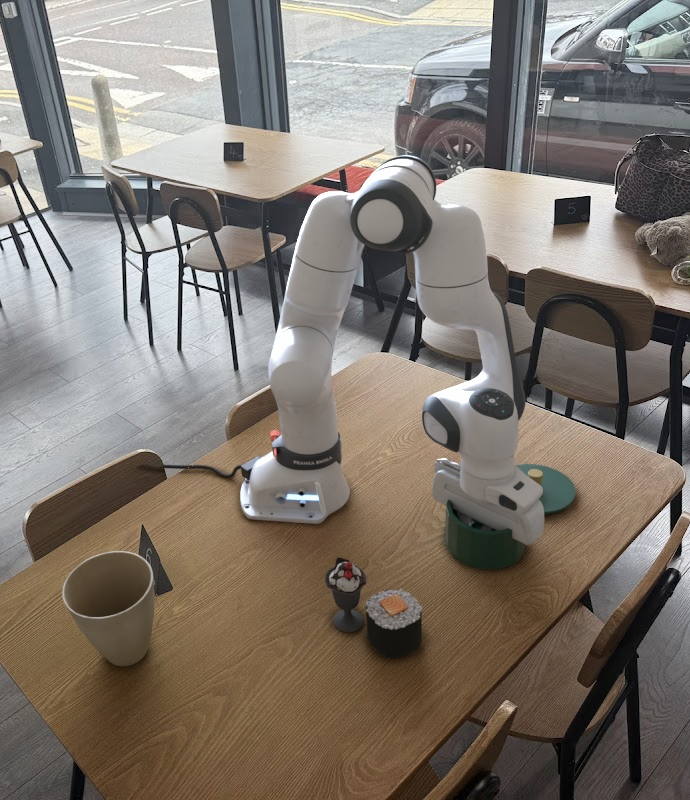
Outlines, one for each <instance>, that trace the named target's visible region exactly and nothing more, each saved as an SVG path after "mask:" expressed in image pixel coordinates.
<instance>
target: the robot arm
mask: <svg viewBox="0 0 690 800" xmlns="http://www.w3.org/2000/svg"><path fill="white" fill-rule="evenodd" d="M436 194H437V180H436V176H435V173H434V171H433V170H432V168H431V166H430V165H429V164H428V163H427V162H426V161H424V159H422V158H420V157H417V156H414V155H409V154H408V155H405V154H404V155H398V156H394V157H391V158H389V159H387V160H386V161H384V162H383V163H382V164H380V165H379V166H378V167H377V168H376V169H375V170H374V171H373V172H372V173H371V174H370V175H369V176H368V177H367V178H366V180H364V181H363V182H362V183H361V185H360V186H359V190H358V191H355V192H353V193H349V192H345V191H338V190H333V191H327V192H323V193H321V194H319V195H318V196H316V198H314V199H313V201H312V202H311V204H310V206H309V208H308V210H307V213H306V215H305V217H304V220H303V223H302V225H301V227H300V230H299V234H298V237H297V241H296V244H295V248H294V251H293V252H294V253H293V257H292V262H291V266H290V271H289V275H288V279H287V283H286V288H285V293H284V298H283V303H282V307H281V311H280V316H279V321H278V325H277V329H276V334H275V337H274V341H273V346H272V350H271V354H270V357H269V361H268V365H267V366H268V367H267V368H268V369H267V371H268V381H269V386H270V390H271V392H272V394H273V396H274V399H275V402H276V407H277V410H278V418H279V427H280V431H279V430H277V429H272V430H271V431H270V433H269V436H270V438H269V440H270V442H272V444H271V448H272V450H271V451H270V452H268V453H266V454H265V455H263V456H262V457H260V456H256V457H254V458H252V459H250V460H249V461H247V462H245V463H242V464H238V465H236V466H235V467H233V470H232V472H231V473H224V472H221V470H219V469H217V468H215V467H213V466H211V465H203V464H163V463H162V464H163V467H164V468H163V469H172V470H173V469H175V470H207V471H211V472H213V473H215V474H216V475H218V476H219V477H221V478H224V479H231V478H234V477H235V475H237V472H238V471H239V470H240V471H241V476H242V477H243V479H244V480H243V482H242V484H241V487H240V492H239V493H240V495H239V503H240V508H241V511H242V513H243V515H244V516H245V518H247V519H249V520H255V521H268V522H269V521H270V522H282V523H283V522H286V523H295V524H296V523H297V524H298V523H299V524H312V525H317V524H318V525H319V524H321V523H323V522H324V521H325V520H326V519H327V518H328V516H330V515H331V514H332V513H335V512H336V511H338V510H340V509H341V508H342V507H344V506H345V504H346V503H347V502H348V500H349V498H350V494H351V489H350V486H349V484H348V481H347V480H346V479H347V478H346V476H345V473H344V470H343V465H342V460H343V444H342V439H341V435H340V432H339V425H338V412H337V410H338V409H337V401H336V398H335V394H334V388H333V379H332V378H333V377H332V376H333V375H332V372H333V371H332V369H333V356H334V350H335V345H336V339H337V336H338V332H339V329H340V326H341V323H342V319H343V318H344V314H345V312H346V309H347V307H348V304H349V301H350V298H351V294H352V290H353V287H354V283H355V280H356V277H357V276H356V275H357V272H358V269H359V265H360V261H361V257H362V255H363V251H364V248H365V246H366V247H368V248H370V249H374V250H378V251H385V252H386V251H387V252H394V253H399V254H402V255H409V254H413V259H414V274H415V294H416V300H417V304H418V306H419V309H420V310H421V312H422V313H423V315H424V316H425V317H426V318H428V320H430V321H431V322H433V323H434V324H437V325H439V326H441V327H445V328H448V329H452V330H460V331H474V332H475V333H476V337H477V341H478V346H479V353H480V357H481V364H482V369H481V371H480V373H479V374H478V375H477V376H476V377H474V378H473V379H470V380H467V381H465V382H462V383H459V384H457V385H454V386H450V387H447V388H445V389H443V390H439V391H437V392H434V393H433V394H431V395H428V396H427V397H426V399H425V401H424V403H423V405H422V411H421V421H422V422H421V423H422V427H423V430H424V433H425V434H426V435H427V437H428V438H429V439H430V440H431V441H433V442H434V443H436V444H437V445H440V446H441V447H443V448H445V449H447V450H449V451H451V452H453V453H459V455H460V463H457V462H454V461H452V460H451V459H448V458H445V457H443V458H437V459H436V460H435V461H434V473H435V474H434V475H433V480H432V485H431V496H432V498H433V499H434V501H436V502H437V503H439V504H442V505H443V506H446V503H447V501H448V500H450V501H452V509H454V510H456V511H457V515H458V516H459V518H460V520H461V522H462V523H464V524H466V525H468V526H470V527H472V528H475V521H473V520H471V518H472V519H474V520H476V521H478V522H481V523H483V524H485V525H487V526H489V527H491V528H493V529H495V530H504V529H507V528H509V529H511V530H513V531H512V538H513V539H516V540H518V541H520V542H522V543H524V544H526V545H525V546H532V545H534V544H535V543H537V541H538V540H540V539H541V537H542V536H543V534H544V530H545V514H544V508H543V505H542V503H541V501H540V500H539V499H540V497H541V496H542V494H543V488H542V487H541V486H540V485H539V484H538V483H536V482H535V481H533V480H532V479H531V478H529V477H528V476H527V475H526V474H524V473H523V472H522V471H521V470H520V469H519V468H518V467H517V466H516V465H517V463H516V458H515V454H516V452H517V450H518V444H519V433H520V430H519V427H520V424H519V421H520V420H521V418H522V417H523V414H524V412H525V408H526V403H527V401H526V400H527V399H526V393H525V390H524V387H523V384H522V382H521V378H520V376H519V371H518V367H517V360H516V354H515V353H516V352H515V347H514V342H513V333H512V328H511V323H510V319H509V314H508V310H507V308H506V304H505V302H504V300H503V299H502V297H501V296H500V295H499V294H498V293H497V292H495V291H492V289H491V287H490V283H489V275H488V273H489V272H488V269H489V268H488V254H487V246H486V238H485V235H484V229H483V225H482V220H481V218H480V216H479V215H478V214H477V212H476V211H474V210H473V209H471V208H470V207H467V206H465V205H460V204H447V205H445V204H442V203H440V202H438V201H437V200H435V198H436V196H437V195H436ZM192 465H193V466H192ZM161 467H162V466H161ZM188 467H189V468H188Z"/></svg>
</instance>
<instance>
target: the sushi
mask: <svg viewBox="0 0 690 800" xmlns="http://www.w3.org/2000/svg"><path fill="white" fill-rule="evenodd" d="M365 606H366V607H365V615H366V635H367V636H366V637H367V640H368V641H369V643H370V644H371V646H372V648H373V649H374V650H375V651H376V652H377V653H378V654H379V655H380V656H383V658H387V659H393V660H394V659H400V658H403V657H406V656H408V655H410V654H412V653H414V652H416V651H417V650H418V649H419V648H420V647H421V644H422V632H423V631H422V629H423V628H422V626H423V624H422V623H423V622H422V620H423V619H422V618H423V617H422V616H423V612H422V611H423V607H422V605H420V603H419V601H418V599H416V597H414V596H411V593H410V592H407V591H404V590H403V588H400V589H396V590H395V589H391V590H389V589H386V590H382V591H378V593H377V594H373V595H372V596H371V597H370V598H369V599H368V600H367V601H365Z"/></svg>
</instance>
